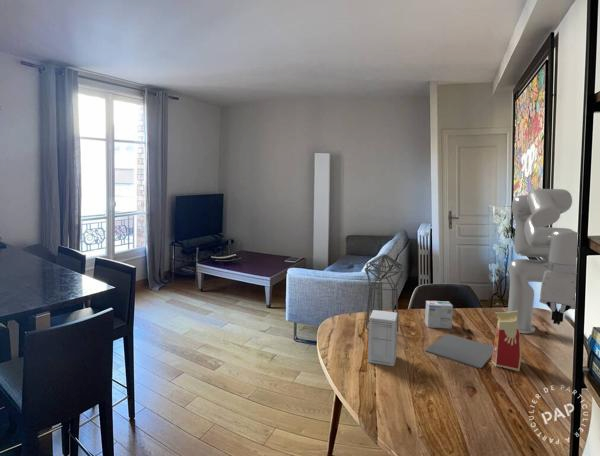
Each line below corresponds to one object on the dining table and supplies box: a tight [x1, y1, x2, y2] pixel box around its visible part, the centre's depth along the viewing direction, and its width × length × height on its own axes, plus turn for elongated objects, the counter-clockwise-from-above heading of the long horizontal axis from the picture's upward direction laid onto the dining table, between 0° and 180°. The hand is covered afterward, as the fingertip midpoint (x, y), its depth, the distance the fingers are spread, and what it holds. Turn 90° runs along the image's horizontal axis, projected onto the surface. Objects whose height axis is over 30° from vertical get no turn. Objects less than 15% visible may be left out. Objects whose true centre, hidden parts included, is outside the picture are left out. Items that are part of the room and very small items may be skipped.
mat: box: [425, 333, 494, 370], centre depth 145 cm, size 22×20×1 cm
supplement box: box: [367, 309, 399, 367], centre depth 136 cm, size 10×9×17 cm
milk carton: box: [490, 311, 522, 372], centre depth 134 cm, size 9×9×20 cm
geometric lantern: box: [364, 253, 405, 333], centre depth 156 cm, size 16×16×35 cm
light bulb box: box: [424, 300, 454, 330], centre depth 170 cm, size 11×7×11 cm, turn 84°
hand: (556, 323), depth 123 cm, fingers closed
